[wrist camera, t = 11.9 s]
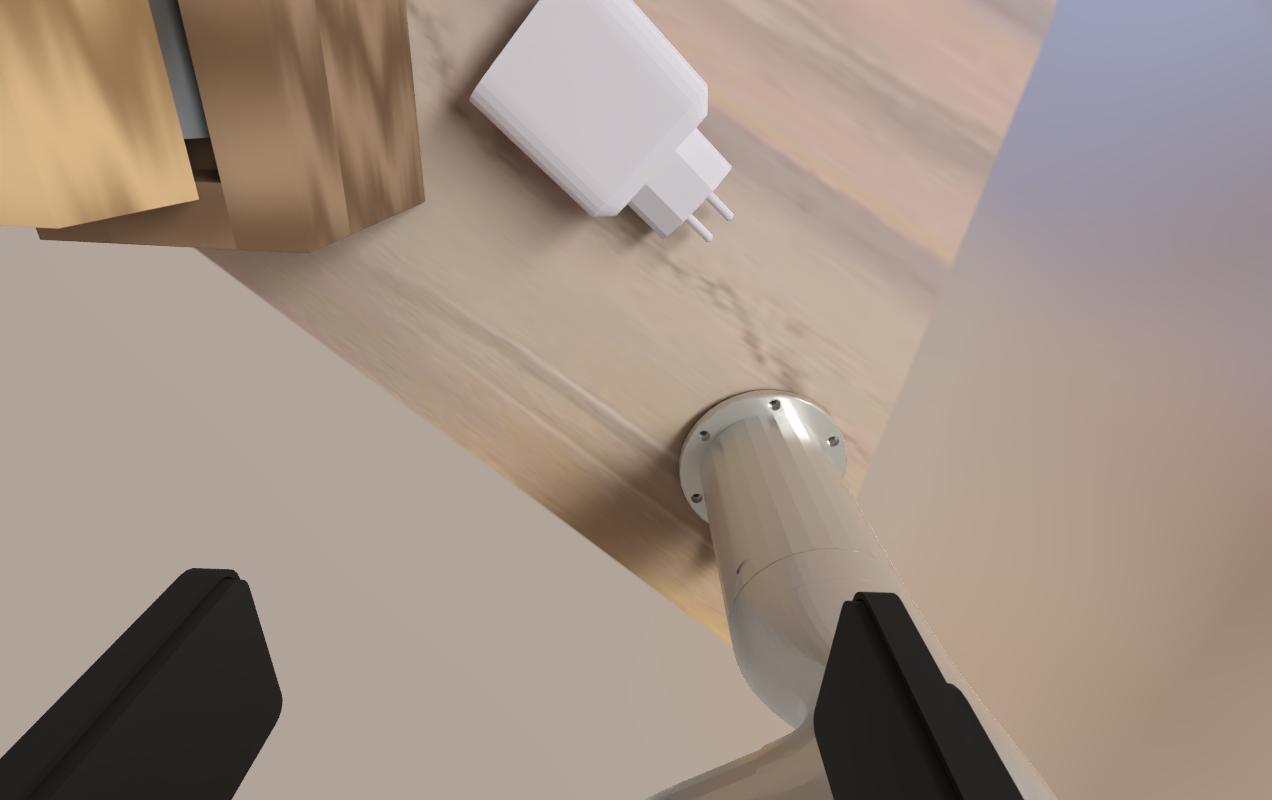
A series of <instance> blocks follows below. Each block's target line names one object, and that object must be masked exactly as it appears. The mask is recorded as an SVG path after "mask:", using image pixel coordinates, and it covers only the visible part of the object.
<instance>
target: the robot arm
mask: <svg viewBox="0 0 1272 800" xmlns="http://www.w3.org/2000/svg"><path fill="white" fill-rule="evenodd" d="M772 400H775V401H774V402H771V401H772ZM701 431H705V432H703V433H702V432H701ZM830 437H831V438H830ZM846 467H847V450H846V444H845V441H844V438H843V435H842V433H841V431H840V430H839V428H838V426H837V425H836V423H835V422H834V420H833V419H832V418H831V417H830V415H829V414H828V413H827V412H826V411H825V410H824V409H823V408H822V407H820V406H819V405H818V404H816V403H815V402H813V401H811V400H809V399H807V398H805V397H803V396H801V395H798V394H794V393H791V392H787V391H779V390H760V391H751V392H747V393H744V394H740V395H736V396H734V397H732V398H729V399H727V400H725V401H723V402H721V403H719V404H718V405H716V406H715V407H713V408H712V409H710V410H709V411H708V412H706V413H705V414H704V415H703V416H702V417H701V418H700V419H699V420H698V421H697V422H696V424H695V425H694V426H693V428H692V429H691V431H690V432H689V433H688V435H687V437H686V440H685V442H684V444H683V446H682V450H681V454H680V459H679V475H680V481H681V487H682V490H683V493H684V495H685V498H686V500H687V501H688V503H689V504H690V506H691V508H692V509H693V510H694V511H695V512H696V513H697V514H698V515H699V516H700V517H701V518H702V519H703V520H704V521H706V522H707V523H709V526H710V531H711V536H712V542H713V547H714V552H715V557H716V562H717V568H718V573H719V578H720V583H721V589H722V594H723V599H724V604H725V610H726V615H727V620H728V625H729V630H730V635H731V640H732V645H733V650H734V653H735V657H736V660H737V663H738V666H739V668H740V670H741V673H742V675H743V677H744V678H745V680H746V682H747V683H748V685H749V686H750V687H751V689H752V691H753V692H754V693H755V694H756V695H757V697H758V698H759V699H760V700H761V701H762V702H763V703H764V704H765V705H766V706H767V707H768V708H769V709H770V710H771V711H772V712H774V713H775V714H776V715H777V716H779V717H780V718H782V719H783V720H784V721H785V722H787V723H788V724H789V725H791V726H792V727H793V728H795V729H796V730H795V731H793V732H792V733H790V734H788V735H786V736H784V737H782V738H780V739H778V740H775V741H774V742H771V743H769V744H766V745H765V746H764V747H762V749H760V750H758V751H756V752H753V753H751V754H748V755H746V756H744V757H741V758H739V759H737V760H734V761H731V762H729V763H727V764H724V765H722V766H720V767H717V768H715V769H712V770H710V771H707V772H705V773H703V774H700V775H698V776H696V777H693V778H691V779H688V780H686V781H683V782H681V783H679V784H677V785H674V786H672V787H670V788H667V789H665V790H663V791H661V792H659V793H657V794H655V795H653V796H651V797H649V798H647V799H646V800H1058V799H1057V798H1056V796H1055V795H1054V794H1053V792H1052V791H1051V789H1050V788H1049V787H1048V785H1047V784H1046V782H1045V781H1044V780H1043V778H1042V777H1041V776H1040V774H1039V773H1038V772H1037V771H1036V770H1035V768H1034V767H1033V766H1032V764H1031V763H1030V762H1029V761H1028V760H1027V758H1026V757H1025V756H1024V754H1023V753H1022V752H1021V751H1020V749H1019V748H1018V747H1017V746H1016V745H1015V743H1014V742H1013V741H1012V740H1011V738H1010V737H1009V736H1008V735H1007V733H1006V732H1005V731H1004V730H1003V729H1002V727H1001V726H1000V725H999V723H998V722H997V721H996V720H995V718H994V717H993V716H992V715H991V713H990V712H989V711H988V710H987V708H986V707H985V706H984V705H983V703H982V702H981V701H980V700H979V698H978V697H977V696H976V694H975V693H974V692H973V690H972V689H971V688H970V686H969V685H968V683H967V682H966V681H965V680H964V678H963V677H962V675H961V674H960V673H959V671H958V670H957V668H956V667H955V666H954V664H953V663H952V662H951V660H950V659H949V657H948V656H947V654H946V652H945V651H944V649H943V648H942V646H941V644H940V643H939V641H938V640H937V638H936V636H935V635H934V633H933V632H932V630H931V629H930V627H929V625H928V624H927V623H926V621H925V619H924V617H923V616H922V614H921V613H920V611H919V609H918V608H917V606H916V604H915V603H914V601H913V599H912V597H911V596H910V594H909V592H908V591H907V589H906V587H905V585H904V584H903V582H902V580H901V579H900V577H899V575H898V573H897V572H896V570H895V568H894V566H893V565H892V563H891V561H890V559H889V558H888V556H887V554H886V552H885V551H884V549H883V547H882V546H881V544H880V542H879V540H878V539H877V537H876V535H875V534H874V532H873V530H872V528H871V527H870V525H869V523H868V522H867V520H866V518H865V516H864V514H863V513H862V511H861V509H860V507H859V506H858V504H857V502H856V501H855V499H854V497H853V495H852V494H851V492H850V490H849V488H848V487H847V485H846V483H845V482H844V480H843V479H844V476H845V474H846ZM281 708H282V694H281V691H280V687H279V684H278V681H277V678H276V674H275V671H274V668H273V664H272V661H271V658H270V654H269V651H268V648H267V644H266V641H265V638H264V634H263V631H262V628H261V625H260V621H259V618H258V614H257V611H256V608H255V605H254V601H253V598H252V594H251V591H250V588H249V585H248V583H247V582H246V581H245V580H240V578H239V576H238V574H237V573H236V572H235V571H234V570H229V569H201V568H192V569H189V570H187V571H185V572H184V573H183V574H181V575H180V576H179V577H178V578H177V579H176V580H175V581H174V582H173V583H172V584H171V585H170V586H169V587H168V588H167V589H166V591H165V592H164V593H163V594H162V595H161V596H160V597H159V598H158V599H157V600H156V601H155V602H154V603H153V604H152V605H151V606H150V607H149V608H148V609H147V610H146V611H145V612H144V613H143V614H142V615H141V616H140V617H139V618H138V619H137V620H136V621H135V622H134V623H133V624H132V625H131V626H130V627H129V628H128V629H127V630H126V631H125V632H124V633H123V634H122V635H121V636H120V637H119V639H117V640H116V641H115V643H113V644H112V646H111V647H110V648H109V649H108V650H107V651H106V652H105V653H104V654H103V655H102V656H101V657H100V658H99V659H98V660H97V661H96V662H95V663H94V664H93V665H92V666H91V667H90V668H89V669H88V670H87V671H86V672H85V673H84V674H83V675H82V676H81V677H80V678H79V679H78V680H77V681H76V682H75V683H74V684H73V685H72V686H71V687H70V688H69V689H68V690H67V692H65V693H64V694H63V695H62V696H61V697H60V699H59V700H58V701H57V702H56V703H55V704H54V705H53V706H52V707H51V708H50V709H49V710H48V711H47V712H46V713H45V714H44V715H43V716H42V717H41V718H40V719H39V720H38V721H37V722H36V723H35V724H34V725H33V726H32V727H31V728H30V729H29V730H28V731H27V732H26V733H25V734H24V735H23V736H22V737H21V738H20V739H19V740H18V741H17V742H16V743H15V744H14V745H13V746H12V748H11V749H10V750H8V751H7V753H6V754H5V755H4V756H3V757H2V758H1V759H0V800H231V799H232V798H233V796H234V794H235V793H236V791H237V789H238V787H239V786H240V784H241V782H242V781H243V779H244V777H245V776H246V774H247V772H248V770H249V768H250V767H251V765H252V764H253V762H254V760H255V758H256V757H257V755H258V753H259V752H260V750H261V748H262V747H263V745H264V743H265V741H266V739H267V738H268V736H269V735H270V733H271V731H272V729H273V728H274V726H275V724H276V722H277V720H278V718H279V715H280V713H281Z"/></svg>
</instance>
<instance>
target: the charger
mask: <svg viewBox="0 0 1272 800" xmlns="http://www.w3.org/2000/svg"><path fill="white" fill-rule="evenodd" d="M469 101H470V102H471V103H472V104H473V105H474V106H475V107H476V108H477V109H478V110H480V111H481V112H482V113H483V114H484V115H485V116H486V117H487V118H488V119H489V120H490V121H491V122H492V123H493V124H494V125H495V126H496V127H497V128H499V129H500V130H501V131H502V132H503V133H504V134H505V135H506V136H507V137H508V138H509V139H510V140H511V141H512V142H513V143H514V144H515V145H516V146H517V147H519V148H520V149H521V150H522V151H523V152H524V153H525V154H526V155H527V156H528V157H529V158H530V159H531V160H532V161H533V162H534V163H535V164H536V165H538V166H539V167H540V168H541V169H542V170H543V171H544V172H545V173H546V174H547V175H548V176H549V177H550V178H551V179H552V180H553V181H554V182H555V183H556V184H558V185H559V186H560V187H561V188H562V189H563V190H564V191H565V192H566V193H567V194H568V195H569V196H570V197H571V198H572V199H573V200H574V201H575V202H577V203H578V204H579V205H580V206H581V207H582V208H583V209H584V210H585V211H586V212H587V213H588V214H589V215H590V216H591V217H607V216H616V215H617V214H618V213H619V212H620V211H621V210H622V209H623V208H624V207H625V206H626V205H629V206H630V207H631V208H632V209H633V210H634V211H635V212H636V213H637V214H638V215H639V216H640V217H641V218H642V219H643V220H644V221H645V222H646V223H647V224H648V225H649V226H650V227H651V228H652V229H653V230H654V231H655V232H656V233H657V234H658V235H659V236H660V237H661V238H662V239H664V238H666V237H667V236H669V235H670V234H671V233H672V232H673V231H674V230H675V229H676V228H678V227H679V226H680V225H681V224H682V223H683V222H684V221H685V220H686V221H687V222H688V223H689V224H690V226H691V227H692V228H693V229H694V230H695V231H696V232H697V233H698V234H699V235H700V236H701V237H702V238H703V239H704V240H705V241H706V242H709V241H711V240H712V238H713V235H712V234H711V233H710V232H709V231H708V230H707V229H706V228H705V227H704V226H703V225H702V224H701V223H700V222H699V221H698V220H697V219H696V218H695V217H694V216H693V215H692V213H693V212H694V211H695V210H696V209H697V208H698V207H699V206H700V205H701V203H702V202H703V201H704V200H705V199H707V200H708V201H709V202H710V203H711V204H712V205H713V207H714V208H715V209H716V210H717V211H718V212H719V213H720V214H721V215H722V216H723V217H724V218H725V219H726V220H727V221H730V220H731V219H732V218H733V216H734V214H733V213H732V212H731V211H730V210H729V209H728V208H727V207H726V206H725V205H724V204H723V202H722V201H721V200H720V199H719V198H718V197H717V196H716V195H715V194H714V193H713V191H714V190H715V188H716V187H717V186H718V185H719V183H720V182H721V181H722V180H723V178H724V177H725V176H726V175H727V174H728V172H729V171H730V169H731V168H732V166H731V165H730V164H729V163H728V162H727V161H726V160H725V159H724V158H723V156H722V155H721V154H720V153H719V152H718V151H717V150H716V149H715V148H714V147H713V146H712V145H711V143H710V142H709V141H708V140H707V139H706V138H705V137H704V136H703V135H702V134H701V133H700V131H699V130H698V129H697V128H696V127H697V126H698V125H699V124H700V123H701V121H702V120H703V119H704V118H705V117H706V115H707V107H708V85H707V84H706V83H705V82H704V80H703V79H702V78H701V77H700V76H699V75H698V74H697V73H696V71H695V70H694V69H693V68H692V67H691V66H690V65H689V64H688V62H687V61H686V60H685V59H684V58H683V57H682V56H681V54H680V53H679V52H678V51H677V50H676V49H675V48H674V47H673V45H672V44H671V43H670V42H669V41H668V40H667V39H666V38H665V36H664V35H663V34H662V33H661V32H660V31H659V30H658V29H657V27H656V26H655V25H654V24H653V23H652V22H651V21H650V19H649V18H648V17H647V16H646V15H645V14H644V13H643V12H642V10H641V9H640V8H639V7H638V6H637V5H636V4H635V3H634V1H633V0H539V1H538V3H537V4H536V6H535V7H534V8H533V10H532V11H531V12H530V14H529V15H528V16H527V18H526V19H525V20H524V22H523V23H522V25H521V26H520V27H519V29H518V30H517V31H516V33H515V34H514V35H513V37H512V38H511V39H510V41H509V42H508V44H507V45H506V46H505V48H504V49H503V50H502V52H501V53H500V54H499V56H498V57H497V58H496V60H495V61H494V63H493V64H492V65H491V67H490V68H489V69H488V71H487V72H486V73H485V75H484V76H483V78H482V79H481V80H480V82H479V83H478V85H477V86H476V88H475V89H474V91H473V93H472V95H471V97H470V99H469Z"/></svg>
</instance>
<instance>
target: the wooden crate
mask: <svg viewBox="0 0 1272 800" xmlns="http://www.w3.org/2000/svg"><path fill="white" fill-rule="evenodd" d="M178 3H179V7H180V12H181V16H182V20H183V24H184V29H185V33H186V37H187V41H188V45H189V50H190V54H191V58H192V62H193V66H194V71H195V75H196V79H197V83H198V88H199V92H200V96H201V100H202V104H203V109H204V113H205V117H206V121H207V126H208V130H209V134H210V138H194V139H184V142H185V146H186V150H187V154H188V158H189V162H190V165H191V169H192V173H193V177H194V181H195V185H196V189H197V193H198V197H199V200H194V201H189V202H184V203H179V204H174V205H170V206H165V207H160V208H155V209H150V210H146V211H141V212H136V213H131V214H126V215H121V216H117V217H112V218H107V219H102V220H97V221H92V222H88V223H83V224H78V225H73V226H68V227H63V228H59V229H58V228H38V227H36V229H37V232H38V235H39V237H40V239H41V240H60V241H79V242H99V243H118V244H137V245H138V244H139V245H157V246H176V247H177V246H178V247H196V248H215V249H235V250H254V251H274V252H293V253H310V252H312V251H315V250H317V249H319V248H321V247H324V246H326V245H328V244H330V243H333V242H335V241H337V240H339V239H342V238H344V237H346V236H348V235H351V234H353V233H355V232H357V231H360V230H362V229H364V228H366V227H369V226H371V225H373V224H375V223H378V222H380V221H382V220H384V219H387V218H389V217H391V216H393V215H396V214H398V213H400V212H402V211H405V210H407V209H409V208H411V207H414V206H416V205H418V204H420V203H422V202H425V198H424V188H423V178H422V167H421V157H420V147H419V137H418V126H417V116H416V106H415V95H414V85H413V75H412V64H411V54H410V44H409V34H408V23H407V13H406V3H405V0H178Z"/></svg>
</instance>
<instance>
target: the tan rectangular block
mask: <svg viewBox="0 0 1272 800" xmlns="http://www.w3.org/2000/svg"><path fill="white" fill-rule="evenodd" d="M194 138H210V134H209V130H208V126H207V121H206V117H205V113H204V109H203V104H202V100H201V96H200V92H199V88H198V83H197V79H196V75H195V71H194V66H193V62H192V58H191V54H190V50H189V45H188V41H187V37H186V33H185V29H184V24H183V20H182V16H181V12H180V7H179V3H178V0H0V226H18V227H38V228H58V229H59V228H63V227H68V226H73V225H78V224H83V223H88V222H92V221H97V220H102V219H107V218H112V217H117V216H121V215H126V214H131V213H136V212H141V211H146V210H150V209H155V208H160V207H165V206H170V205H174V204H179V203H184V202H189V201H194V200H199V197H198V193H197V189H196V185H195V181H194V177H193V173H192V169H191V165H190V162H189V158H188V154H187V150H186V146H185V142H184V139H194Z"/></svg>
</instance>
